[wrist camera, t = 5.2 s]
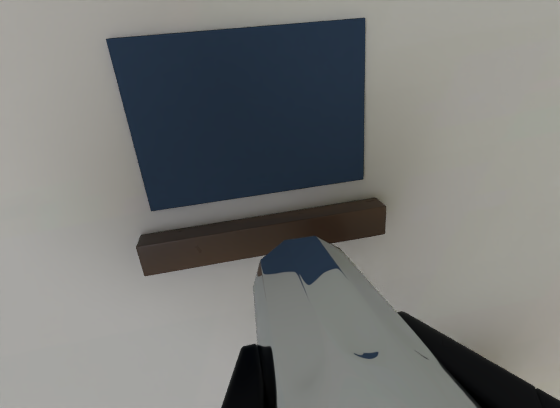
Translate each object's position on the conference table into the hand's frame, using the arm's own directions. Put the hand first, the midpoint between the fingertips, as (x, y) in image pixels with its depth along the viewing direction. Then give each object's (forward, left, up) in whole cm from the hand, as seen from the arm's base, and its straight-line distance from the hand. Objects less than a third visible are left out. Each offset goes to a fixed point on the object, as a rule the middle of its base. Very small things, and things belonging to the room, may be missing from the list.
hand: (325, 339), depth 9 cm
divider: (-3, 0, -12) cm, 13 cm away
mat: (+4, 0, -12) cm, 13 cm away
